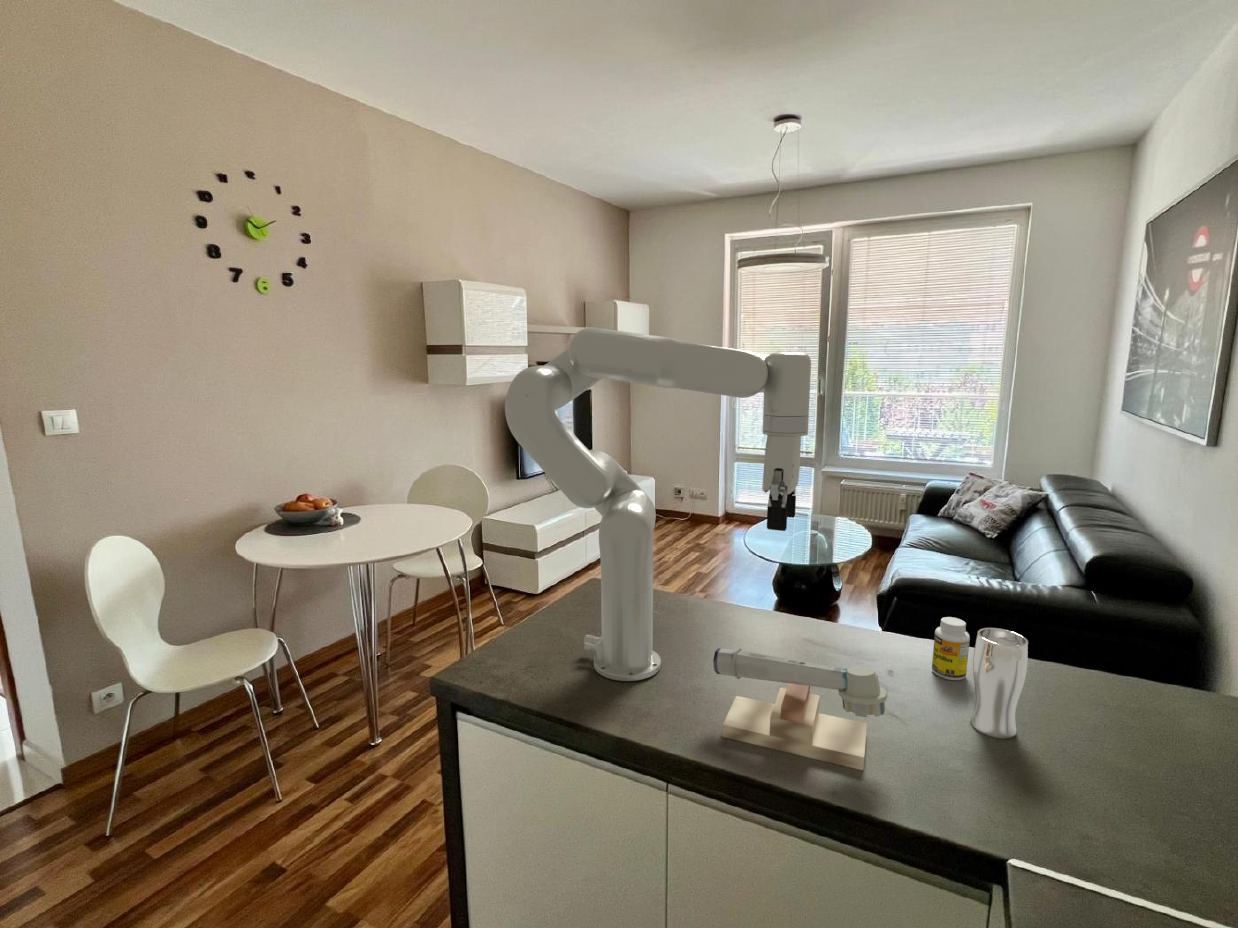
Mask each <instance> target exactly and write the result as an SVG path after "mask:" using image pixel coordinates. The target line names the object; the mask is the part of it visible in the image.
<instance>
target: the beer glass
mask: <svg viewBox="0 0 1238 928" xmlns="http://www.w3.org/2000/svg"><path fill="white" fill-rule="evenodd" d="M1028 645H1029V640H1028V639H1027V638H1026V637H1024V636H1023V635H1022V634H1020V633H1017V632H1015V631H1013V630H1012V631H1011V630H1009V629H1005V628H1004V629H1003V628H998V627H984V628H980V629H979V630H977V635H976V640H975V645H974V651H973V660H972V661H973V662H972V669H973V670H972V671H973V682H974V690H975V691H974V692H975V703H974V708H973V712H972V714H971V718H970V723H971V725H972V727H973V728H974V729H975V730H976V731H978V732H979V733H981V734H983V735H986V736H988V737H992V738H995V739H1001V740H1002V739H1003V740H1007V739H1012V738H1014V737H1016V735H1017V726H1016V724H1017V723H1016V709H1017V705H1018V702H1019V699H1020V696H1021V694H1022V691H1023V687H1024V686H1025V681H1026V677H1027V669H1028V660H1029V659H1028V657H1029V656H1028V654H1029V651H1028V649H1029V647H1028Z"/></svg>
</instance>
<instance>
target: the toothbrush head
mask: <svg viewBox="0 0 1238 928" xmlns="http://www.w3.org/2000/svg"><path fill="white" fill-rule="evenodd" d="M712 665H713V671H714V672H715V673H716V675H723V676H730V677H735V679H736V680H740V679H741V678H745V679H752V680H753V679H754V680H761V681H768V682H777V683H782V684H789V683H790V684H798V685H806V686H810V687H814V688H815V687H816V688H823V689H830V690H837V691H838V695H839V696H840V698H841V699H842V708H843V709H844V711H846V713H849V712H850V713H851V712H852V713H854V714H855V715H854V716H856V717H862V718H867V716H872V715H873V716H874V717H880V716H882V715H884V714H885V711H886V706H885V704H886V703H885V702H886V701H887V698H888V692H887V691H886V690H885V688H883V687H882V686H881V685H880V682H879V676H878V675H877V673H876V671H875V670H874V669H873V668H871V667H868V666H863V665H856V666H855V665H853V666H850V667H848V668H842V667H837V666H831V665H827V664H820V663H813V662H808V661H802V660H797V659H792V658H786V657H785V658H784V657H779V656H775V655H774V656H773V655H769V654H762V653H759V652H757V653H755V652H752V651H751V652H750V651H745V650H742V648H741V647H738V648H736V649H732V648H731V649H729V648H721V647H719V648H718V647H717V649H716V650H715V651H714V655H713V660H712Z"/></svg>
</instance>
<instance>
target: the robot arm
mask: <svg viewBox="0 0 1238 928" xmlns="http://www.w3.org/2000/svg"><path fill="white" fill-rule="evenodd" d="M568 345H569V346H568V347H567V349H565V350H564V351H563V352H561V353H559V355H557V356H556V357H554V358H553V359H551V360H550V361H549V362H547V363H546V364H544V365H532V366H529V367H526V368H524V369H522V370H521V371H519V373H517V374H516V376H514V378H513V379H512V380H511V382H510V384H509V386H508V388H507V392H506V394H505V395H506V396H505V402H504V413H505V418H506V419H505V420H506V422H507V423H506V424H507V426H508V429H509V430H510V432H511V434H512V436H513V438H514V439H515V441H516V442H517V443H518V444H519V445H520V446H521V447H522V449H523V450H524V451H525V452H526V453H527V454H528V455H529V456H530V457H531V458H532V459H533V460H534V462H535V463H536V465H538V466H539V468H541V470H542V472H543V473H545V474H546V476H547V477H548V478H549V479H550V480H551V481H552V482H553V483H554V485H556V486H557V488H558V489H559V490H560V491H561V492H562V494H564V496H565V497H566V498H567V499H568V500H569V501H570V502H571V503H572V504H574V505H575V506H577V507H579V508H582V509H593V508H594V509H595V510H596V511H597V512H598V513H599V514H600V515H601V519H600V523H599V528H598V546H599V555H600V589H601V590H600V591H601V592H600V593H601V594H600V596H601V599H600V600H601V602H600V604H601V607H600V608H601V636H595V635H591V634H585V636H584V638H583V644H584V645H583V648H584V650H586V651H589V652H594V653H595V654H596V655H594V658H593V668H594V670H595V672H597V674H600V676H603V677H605V678H606V679H610V680H613V681H617V682H618V681H620V682H636V681H641V680H645V679H649V678H651V677H653V676H654V675H656V674H657V673H658V672H659V671H660V669H661V666H662V665H661V664H662V659H661V656H660V655H659V654H658V653H657V652H656V651H655V650H653V648H654V647H653V646H654V645H653V642H654V640H653V636H654V635H653V633H654V629H653V628H654V627H653V626H654V622H653V621H654V620H653V619H654V615H653V614H654V554H653V553H654V551H653V550H654V547H653V546H654V543H653V542H654V529H655V525H656V519H657V516H656V507H655V505H654V503H653V501H652V499H651V498H650V497H649V495H648V494H647V493H646V492H645V491H644V489H642V488H641V486H639V484H638V483H637V482H636V481H635V480H634V479H633V478H632V477H631V475H630V474H629V473H627V471H626V470H625V468H623V467H622V466H621V465H620V463H618V462H617V460H615V458H614V457H612V456H611V455H609V454H608V453H606V452H604V451H601V450H598V449H588V447H587V446H585V445H584V443H583V442H582V441H581V440H580V439H579V438H578V437H577V436H576V435H575V433H574V432H573V431H572V430H571V429H570V428H569V427H568V426H566V424H564V423H563V422H562V421H561V420H560V418H559V417H558V416H557V414H556V410H559V409H561V408H562V407H565V406H566V405H567V404H569V403H570V402H572V401H573V400H574V399H576V398H578V397H579V396H580V395H581V394H583V393H584V392H586V391H588V390H589V389H590V388H591V387H593V386H594V385H596V384H597V383H599V382H600V381H601V380H602V379H603V380H604V379H605V380H611V381H617V382H625V383H633V384H638V385H644V386H645V385H646V386H651V387H658V388H664V389H678V390H679V389H680V390H687V391H693V392H699V393H707V394H713V395H721V396H726V397H734V398H739V399H741V398H743V399H746V398H751V397H753V396H755V395H757V394H758V393H760V394H761V393H763V409H762V410H763V413H762V434H763V435H764V436H765V435H766V442H765V448H764V461H763V471H762V472H763V473H762V488H761V490H762V492H763V493H768V492H769V495H768V501H767V511H766V514H767V515H766V529H767V530H770V531H781V532H785V531H787V526H788V518H794V517H795V516H796V505H797V495H796V491H797V490H796V488H797V486H798V484H799V480H800V478H799V477H800V465H801V447H802V445H801V444H802V443H801V442H802V437H804V436H808V435H809V421H810V420H809V416H810V414H809V413H810V397H811V396H810V394H811V377H812V376H811V375H812V360H811V357H810V355H809V354H807V353H805V352H798V351H797V352H795V351H793V352H791V351H787V352H785V351H783V352H781V351H779V352H773V353H770V354H767V353H766V354H764V353H755V352H753V351H751V350H745V349H743V350H742V349H737V348H736V349H735V348H731V347H722V346H713V345H708V344H700V343H693V342H686V341H682V340H678V339H676V338H672V337H668V336H667V337H666V336H659V335H652V334H644V333H637V332H629V331H623V330H615V329H609V328H603V327H602V328H600V327H585V328H583V329H581V330H579V331H577V332H576V333H575V334H574V336H573V337H572V338H571V340H570V342H569V344H568Z"/></svg>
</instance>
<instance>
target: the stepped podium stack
mask: <svg viewBox="0 0 1238 928" xmlns="http://www.w3.org/2000/svg"><path fill="white" fill-rule="evenodd" d="M787 684H788V685H787V687H786V688H785V687H780V688H779V691H778V694H777V696H776V699H775V701H774V703H772V702H768V701H764V700H758V699H753V698H749V697H745V696H741V695H740V696H739V695H736V696H735V697H734V700H733V702H732V703H731V706H730V708H729V710H728V713H727V715H726V716H725V719H724V720H723V721H724V722H723V724H722V738H727V739H729V740H730V739H731V740H735V741H739V742H743V743H745V744H746V743H747V744H751V745H755V746H758V747H759V746H760V747H763V748H764V747H765V748H767V749H771V750H776V751H780V752H784V753H787V754H793V755H796V756H802V757H805V758H809V759H814V760H818V761H822V762H827V763H830V764H835V765H839V766H843V767H847V768H851V769H856V770H859V771H864V769H865V767H864V765H865V754H866V739H867V729H868V728H867V726H868V723H867V722H862V721H858V720H853V719H848V718H845V717H839V716H834V715H829V714H825V713H820V701H821V700H820V697H821V696H820V694H815V693H811V686H806V685H798V684H790V683H787Z"/></svg>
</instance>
